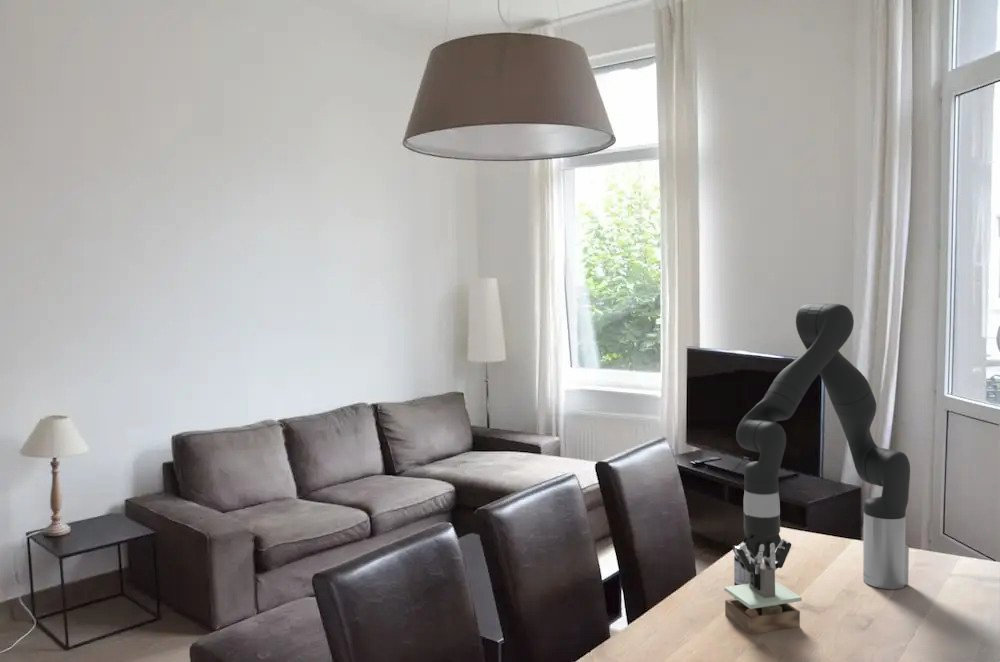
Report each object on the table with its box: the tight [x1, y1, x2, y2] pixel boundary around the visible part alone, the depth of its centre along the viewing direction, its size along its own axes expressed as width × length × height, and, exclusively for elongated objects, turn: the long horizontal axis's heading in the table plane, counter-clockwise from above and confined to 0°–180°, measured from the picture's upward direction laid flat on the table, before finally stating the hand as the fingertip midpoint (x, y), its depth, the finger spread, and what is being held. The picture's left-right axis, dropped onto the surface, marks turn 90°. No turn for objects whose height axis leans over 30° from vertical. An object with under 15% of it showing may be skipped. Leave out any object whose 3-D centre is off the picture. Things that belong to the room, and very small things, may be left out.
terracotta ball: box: [745, 608, 759, 617], centre depth 171 cm, size 3×3×3 cm
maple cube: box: [762, 605, 782, 615], centre depth 173 cm, size 3×3×3 cm
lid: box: [723, 561, 803, 609], centre depth 172 cm, size 12×10×7 cm
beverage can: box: [733, 548, 749, 599], centre depth 183 cm, size 6×6×12 cm
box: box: [724, 598, 801, 635], centre depth 172 cm, size 12×10×4 cm
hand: (762, 587), depth 172 cm, fingers closed on lid, 2 cm apart
